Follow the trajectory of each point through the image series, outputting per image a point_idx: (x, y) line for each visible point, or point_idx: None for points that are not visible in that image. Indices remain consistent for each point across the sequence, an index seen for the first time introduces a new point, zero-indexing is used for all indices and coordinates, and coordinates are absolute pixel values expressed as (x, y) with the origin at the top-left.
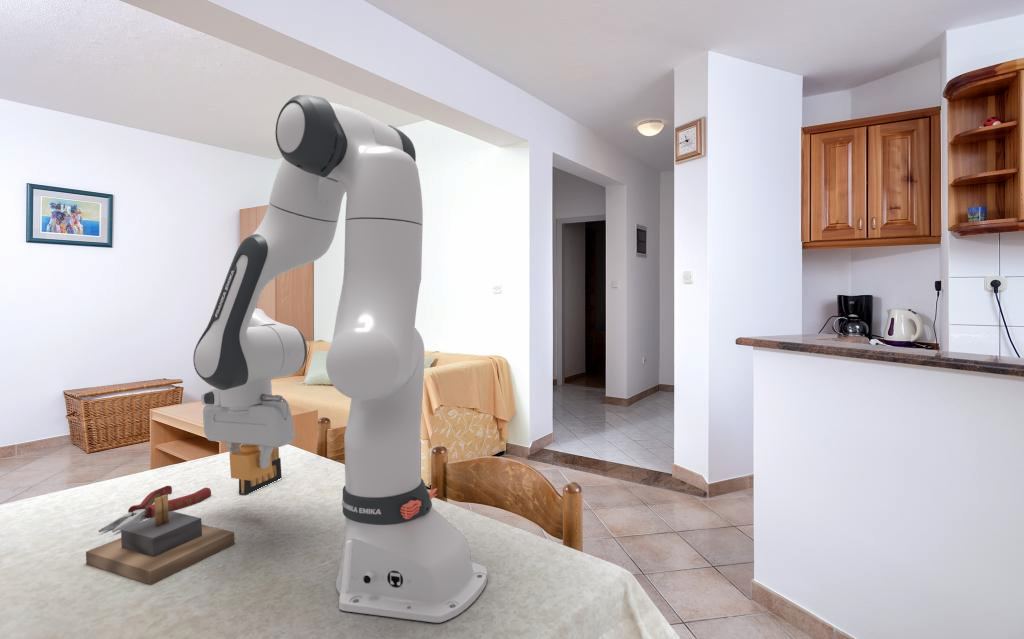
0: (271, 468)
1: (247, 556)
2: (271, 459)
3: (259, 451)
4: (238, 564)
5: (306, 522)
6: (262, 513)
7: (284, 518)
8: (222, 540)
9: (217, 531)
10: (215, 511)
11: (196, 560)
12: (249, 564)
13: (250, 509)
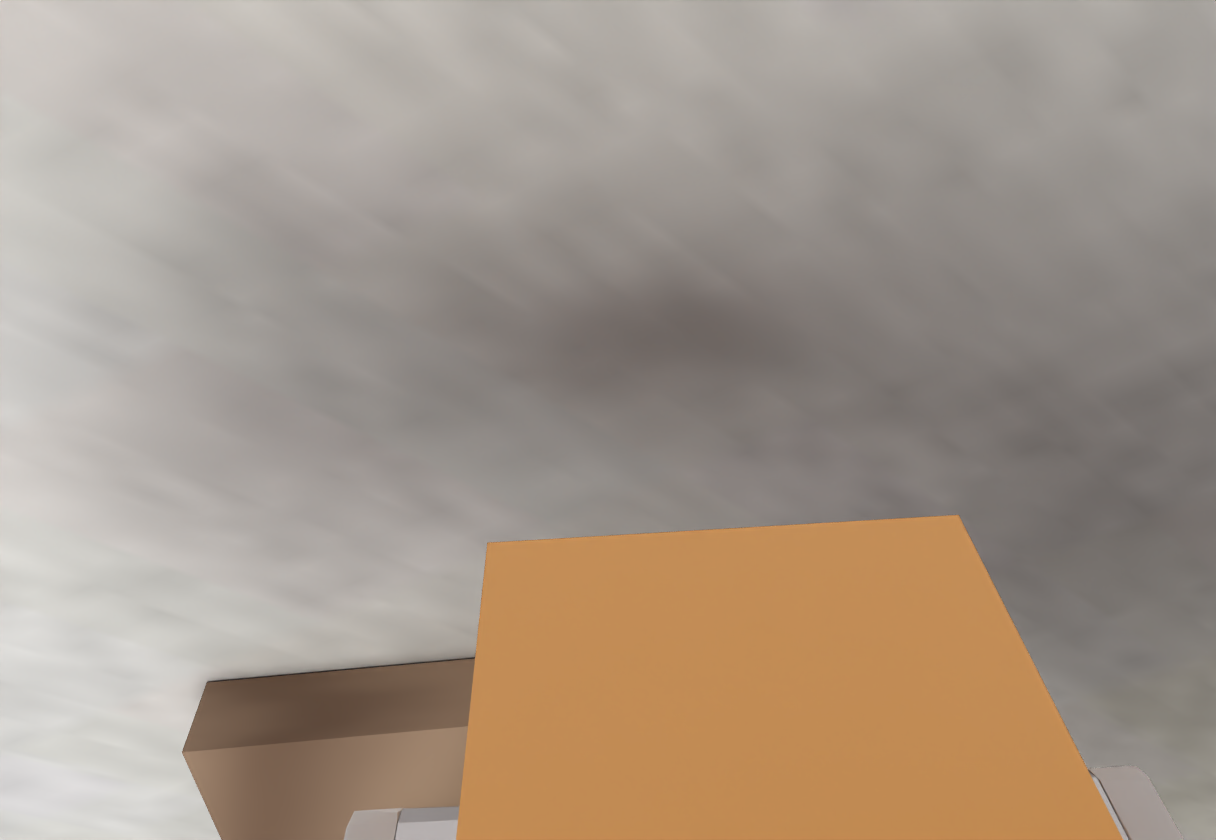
0: (982, 573)
1: (1097, 667)
2: (1049, 695)
3: None
4: (1111, 726)
5: (1212, 141)
6: (586, 197)
7: (917, 177)
8: None
9: None
10: (95, 378)
11: None
12: (1177, 704)
13: (359, 185)
